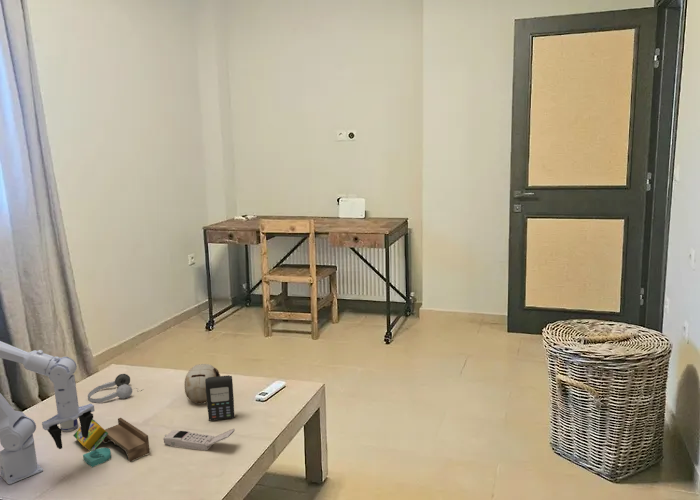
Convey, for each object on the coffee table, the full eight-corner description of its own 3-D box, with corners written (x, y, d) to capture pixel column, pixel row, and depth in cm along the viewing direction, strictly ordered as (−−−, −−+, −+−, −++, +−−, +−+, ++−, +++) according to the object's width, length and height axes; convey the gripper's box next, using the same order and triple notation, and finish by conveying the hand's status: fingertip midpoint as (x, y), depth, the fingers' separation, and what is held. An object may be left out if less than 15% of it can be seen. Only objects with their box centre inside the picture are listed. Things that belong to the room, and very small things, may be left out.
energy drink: (71, 432, 198) (67, 399, 196) (57, 431, 199) (52, 398, 197) (81, 425, 203) (77, 392, 201) (67, 423, 204) (63, 391, 202)
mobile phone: (227, 437, 181) (155, 428, 188) (228, 455, 182) (157, 445, 189) (236, 428, 187) (166, 419, 193) (237, 445, 188) (167, 436, 194)
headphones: (142, 379, 238) (90, 396, 231) (138, 366, 236) (85, 383, 229) (146, 396, 222) (90, 415, 215) (142, 382, 221) (85, 401, 213)
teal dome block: (92, 467, 177) (91, 461, 177) (83, 460, 181) (82, 454, 181) (114, 458, 182) (113, 452, 182) (105, 451, 186) (105, 445, 186)
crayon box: (88, 416, 195) (102, 428, 187) (95, 420, 197) (109, 433, 188) (72, 435, 192) (85, 448, 184) (78, 439, 194) (92, 453, 185)
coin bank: (213, 382, 235) (211, 351, 231) (233, 401, 222) (231, 369, 218) (175, 394, 226) (172, 363, 222) (193, 415, 213) (190, 382, 209)
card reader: (207, 422, 203) (204, 381, 200) (208, 417, 206) (204, 376, 203) (234, 419, 204) (232, 378, 201) (234, 414, 208) (231, 374, 205)
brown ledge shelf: (130, 461, 179) (128, 443, 178) (103, 441, 192) (101, 424, 190) (149, 453, 184) (148, 435, 183) (122, 434, 196) (120, 417, 195)
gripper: (47, 412, 164) (54, 457, 167) (97, 394, 175) (102, 436, 178) (36, 406, 169) (42, 449, 171) (85, 388, 180) (90, 429, 182)
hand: (72, 442), depth 175 cm, fingers open, 7 cm apart
